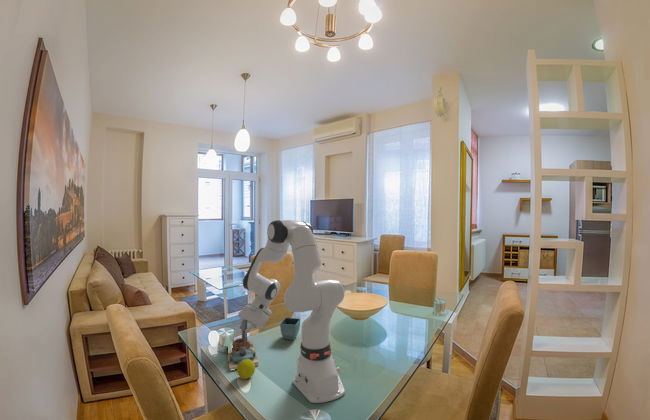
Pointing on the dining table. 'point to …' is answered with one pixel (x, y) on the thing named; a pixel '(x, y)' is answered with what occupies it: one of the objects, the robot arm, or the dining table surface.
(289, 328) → the flower pot
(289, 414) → the dining table surface
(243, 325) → the axle pin
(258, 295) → the robot arm
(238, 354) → the gear board
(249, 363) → the tennis ball
